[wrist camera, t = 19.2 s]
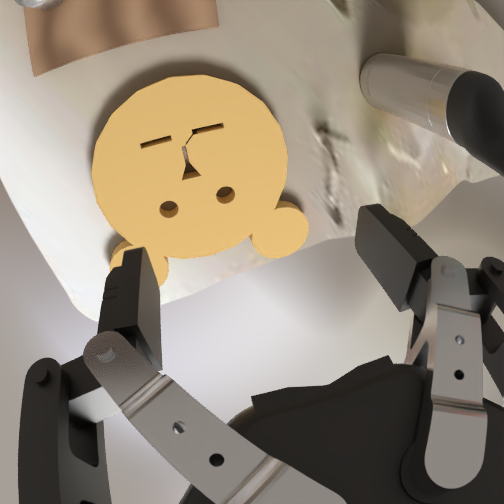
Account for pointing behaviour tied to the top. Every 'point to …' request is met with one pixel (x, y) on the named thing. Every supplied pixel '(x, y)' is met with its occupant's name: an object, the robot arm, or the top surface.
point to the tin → (40, 3)
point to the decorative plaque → (195, 173)
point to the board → (107, 26)
